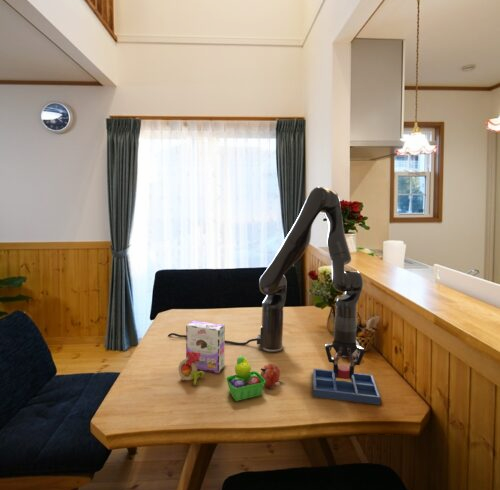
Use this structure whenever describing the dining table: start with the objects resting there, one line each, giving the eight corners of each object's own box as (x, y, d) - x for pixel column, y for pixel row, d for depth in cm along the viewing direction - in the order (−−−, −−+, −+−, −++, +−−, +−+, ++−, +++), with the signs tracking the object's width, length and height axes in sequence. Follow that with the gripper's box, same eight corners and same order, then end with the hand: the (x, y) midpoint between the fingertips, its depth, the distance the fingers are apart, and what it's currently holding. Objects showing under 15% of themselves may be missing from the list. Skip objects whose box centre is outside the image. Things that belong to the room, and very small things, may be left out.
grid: (313, 396, 114) (313, 389, 114) (313, 374, 128) (313, 368, 128) (380, 404, 110) (380, 397, 110) (372, 381, 124) (372, 374, 124)
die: (355, 364, 138) (366, 342, 140) (335, 351, 139) (347, 329, 142) (349, 362, 146) (360, 341, 148) (330, 350, 147) (341, 329, 150)
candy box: (224, 366, 132) (225, 324, 131) (218, 374, 126) (219, 330, 126) (192, 360, 137) (193, 319, 136) (185, 367, 131) (185, 324, 130)
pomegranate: (273, 383, 125) (252, 369, 123) (286, 368, 124) (265, 353, 123) (277, 398, 118) (254, 382, 116) (291, 382, 117) (268, 366, 115)
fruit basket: (233, 404, 108) (234, 369, 108) (224, 389, 116) (224, 357, 116) (265, 396, 113) (266, 363, 112) (254, 383, 121) (255, 351, 120)
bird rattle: (179, 390, 119) (202, 385, 116) (168, 359, 119) (190, 353, 117) (188, 381, 125) (209, 375, 122) (177, 352, 125) (198, 345, 123)
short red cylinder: (337, 378, 120) (337, 370, 120) (336, 371, 125) (336, 364, 124) (350, 379, 120) (350, 371, 119) (349, 373, 124) (349, 365, 124)
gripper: (364, 325, 123) (362, 371, 125) (324, 321, 126) (322, 367, 127) (368, 333, 116) (365, 382, 117) (325, 329, 119) (322, 377, 120)
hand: (343, 374), depth 122 cm, fingers closed on short red cylinder, 4 cm apart
